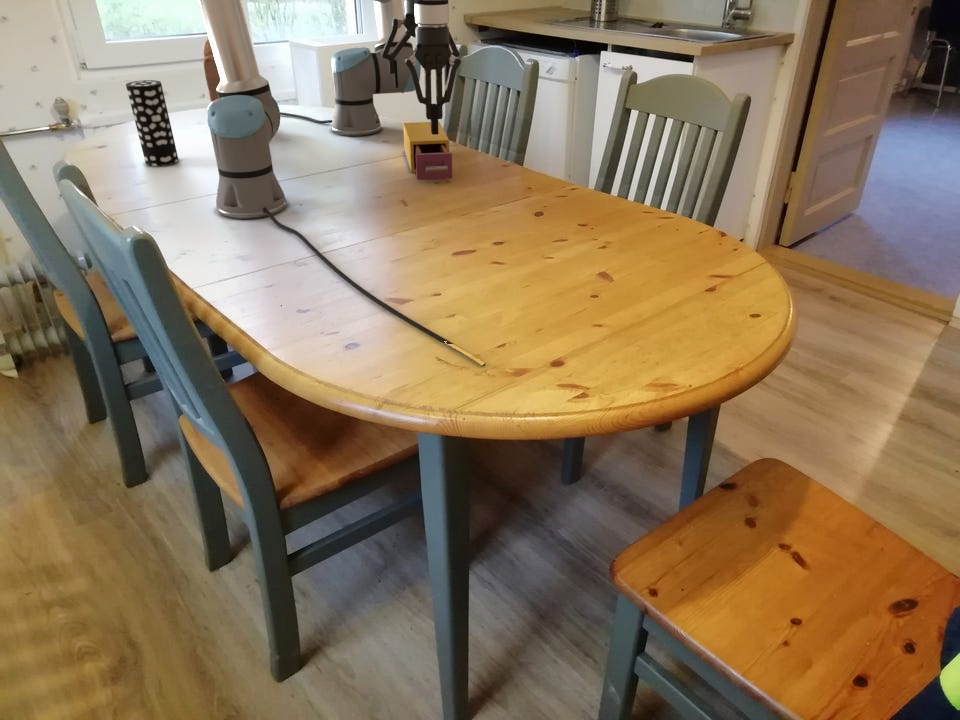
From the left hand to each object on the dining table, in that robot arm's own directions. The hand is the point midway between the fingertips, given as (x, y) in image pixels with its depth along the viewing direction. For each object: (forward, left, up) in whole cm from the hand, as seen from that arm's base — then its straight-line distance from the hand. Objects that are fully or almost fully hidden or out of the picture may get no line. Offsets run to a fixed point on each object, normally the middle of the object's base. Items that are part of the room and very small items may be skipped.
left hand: (434, 132), depth 166 cm
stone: (+73, +33, -13) cm, 81 cm away
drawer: (+8, -3, -12) cm, 15 cm away
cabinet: (+20, -6, -13) cm, 24 cm away
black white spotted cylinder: (+51, +58, -3) cm, 77 cm away
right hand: (+25, -8, +6) cm, 27 cm away
